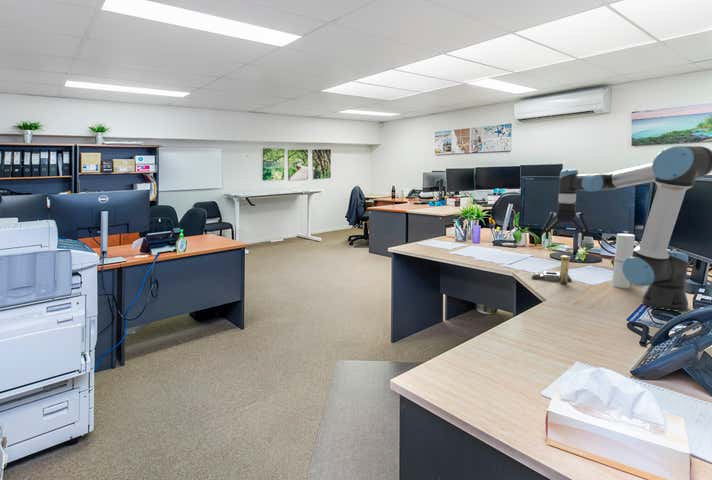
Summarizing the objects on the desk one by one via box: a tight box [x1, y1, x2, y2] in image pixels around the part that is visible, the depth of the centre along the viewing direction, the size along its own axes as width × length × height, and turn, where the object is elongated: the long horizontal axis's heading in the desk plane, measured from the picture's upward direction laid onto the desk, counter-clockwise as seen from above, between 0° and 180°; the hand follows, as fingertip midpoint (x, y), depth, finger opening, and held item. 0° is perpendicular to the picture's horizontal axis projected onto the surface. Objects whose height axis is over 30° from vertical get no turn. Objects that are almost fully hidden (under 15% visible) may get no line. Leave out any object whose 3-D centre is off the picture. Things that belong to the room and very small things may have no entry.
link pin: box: [559, 255, 571, 285], centre depth 203 cm, size 4×4×14 cm
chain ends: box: [531, 270, 572, 283], centre depth 213 cm, size 18×7×3 cm, turn 70°
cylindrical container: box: [611, 233, 636, 289], centre depth 197 cm, size 7×7×25 cm
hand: (563, 246), depth 200 cm, fingers open, 13 cm apart
